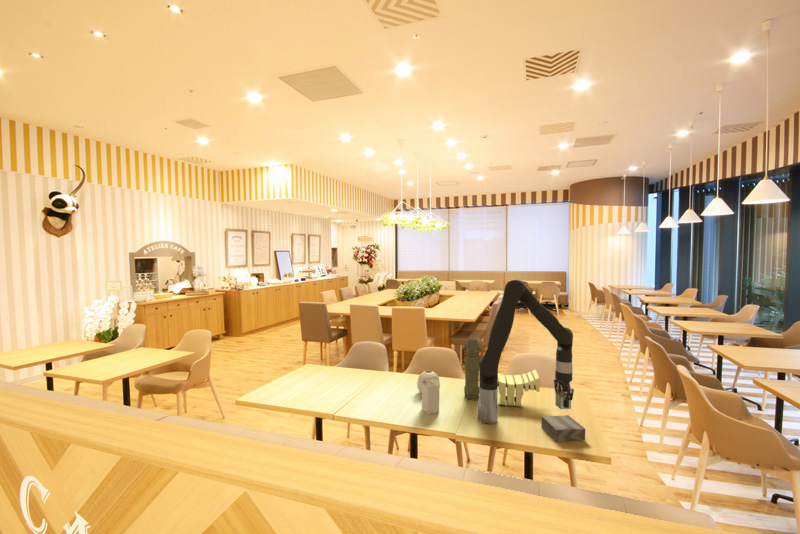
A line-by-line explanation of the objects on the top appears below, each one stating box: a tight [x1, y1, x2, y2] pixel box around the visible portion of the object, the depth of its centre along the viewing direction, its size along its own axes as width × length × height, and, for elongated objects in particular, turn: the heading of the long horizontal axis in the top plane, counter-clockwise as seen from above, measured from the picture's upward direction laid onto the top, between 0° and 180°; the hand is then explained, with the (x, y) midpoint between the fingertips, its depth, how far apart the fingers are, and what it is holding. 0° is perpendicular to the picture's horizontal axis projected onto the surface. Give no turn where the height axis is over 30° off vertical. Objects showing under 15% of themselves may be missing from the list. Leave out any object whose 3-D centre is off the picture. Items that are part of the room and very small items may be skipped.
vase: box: [416, 369, 441, 394], centre depth 224 cm, size 14×14×13 cm
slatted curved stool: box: [497, 369, 541, 408], centre depth 211 cm, size 30×16×18 cm, turn 78°
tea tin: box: [554, 391, 572, 410], centre depth 174 cm, size 5×5×6 cm
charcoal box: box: [541, 414, 586, 443], centre depth 174 cm, size 14×14×6 cm
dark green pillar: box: [461, 338, 483, 401], centre depth 218 cm, size 9×12×35 cm
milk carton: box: [421, 376, 440, 415], centre depth 199 cm, size 7×7×19 cm
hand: (563, 404), depth 174 cm, fingers closed on tea tin, 5 cm apart
